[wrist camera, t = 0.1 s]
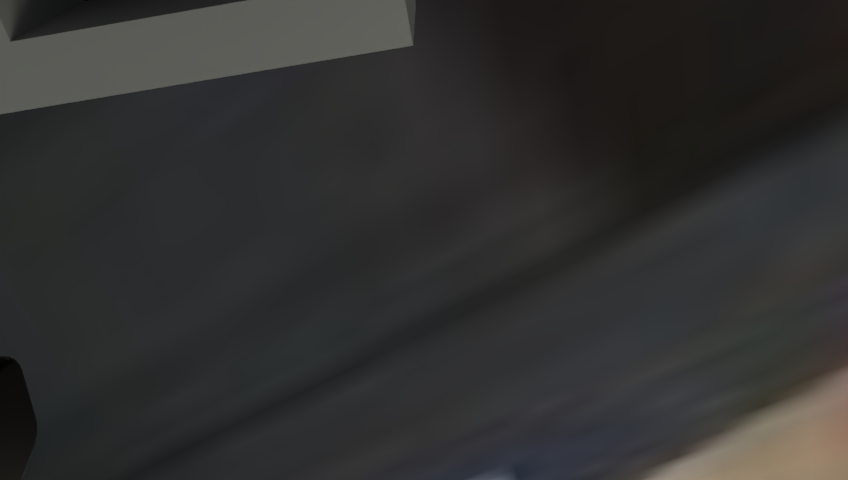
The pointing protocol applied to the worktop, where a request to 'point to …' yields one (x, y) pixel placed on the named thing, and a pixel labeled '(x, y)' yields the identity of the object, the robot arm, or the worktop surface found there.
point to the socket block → (177, 42)
